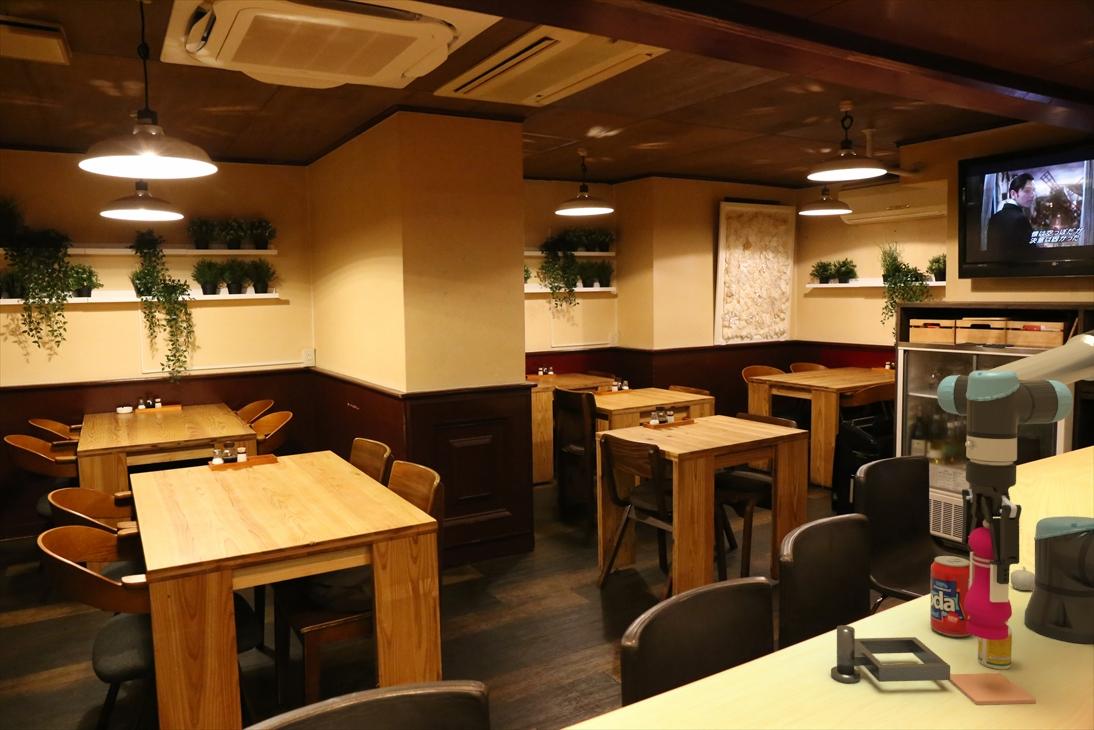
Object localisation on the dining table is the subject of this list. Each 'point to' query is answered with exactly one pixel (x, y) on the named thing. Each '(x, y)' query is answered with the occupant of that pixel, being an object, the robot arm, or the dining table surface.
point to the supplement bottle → (995, 652)
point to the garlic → (1023, 579)
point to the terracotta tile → (990, 689)
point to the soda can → (949, 595)
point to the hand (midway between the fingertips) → (988, 594)
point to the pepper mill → (984, 592)
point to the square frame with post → (862, 655)
